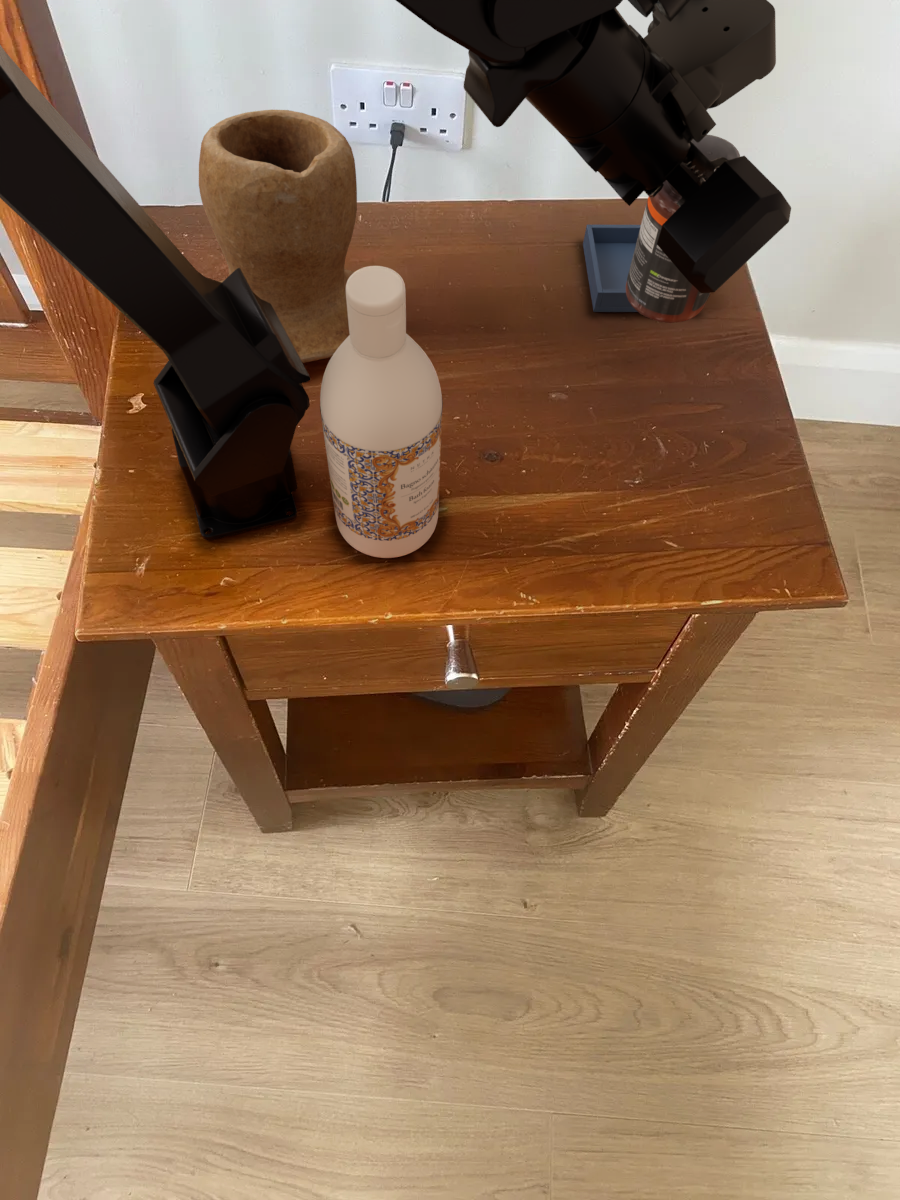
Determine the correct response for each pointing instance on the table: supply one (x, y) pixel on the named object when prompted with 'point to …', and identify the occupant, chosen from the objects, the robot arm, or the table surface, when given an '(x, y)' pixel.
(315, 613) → the table surface
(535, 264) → the table surface
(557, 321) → the table surface
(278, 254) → the stone cup
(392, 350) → the bath foam
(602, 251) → the tray
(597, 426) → the table surface
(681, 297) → the supplement bottle
